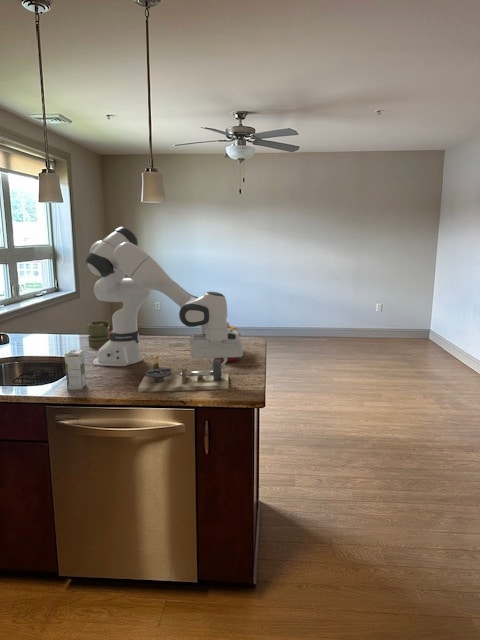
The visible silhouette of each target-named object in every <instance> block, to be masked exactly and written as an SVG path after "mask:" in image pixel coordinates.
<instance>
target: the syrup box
mask: <svg viewBox="0 0 480 640" xmlns="http://www.w3.org/2000/svg"><path fill="white" fill-rule="evenodd" d="M84 352H85V351H84V349H70V350H68V351H67V352H65V353H64V365H65V366H64V367H65V368H64V369H65V377H66V378H65V379H66V389H67V391H71V390H72V391H75V390H83V389H84V388H85V386H86V384H87V380H86V379H87V377H86V367H85V366H86V365H85V354H84Z"/></svg>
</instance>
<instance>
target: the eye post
mask: <svg viewBox="0 0 480 640" xmlns="http://www.w3.org/2000/svg"><path fill="white" fill-rule="evenodd" d="M181 372H182V384H186V382H187V377H188V376H187V377H186V372H188V363H185V362H183V363H182V367H181Z"/></svg>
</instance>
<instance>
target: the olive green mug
mask: <svg viewBox="0 0 480 640" xmlns="http://www.w3.org/2000/svg"><path fill="white" fill-rule="evenodd" d="M86 327H87V335H88V336H87V339H88V347H90V348H101V347H102V346H103V345H104V344H105V343H107V342H108V341H109V340H110V339H109V336H108V335H109V334H110V332H111V331H110V321H108V320H95V321H91V324H89V323H87V324H86Z"/></svg>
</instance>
